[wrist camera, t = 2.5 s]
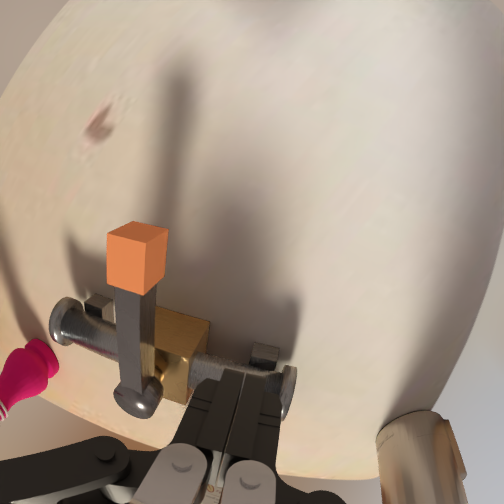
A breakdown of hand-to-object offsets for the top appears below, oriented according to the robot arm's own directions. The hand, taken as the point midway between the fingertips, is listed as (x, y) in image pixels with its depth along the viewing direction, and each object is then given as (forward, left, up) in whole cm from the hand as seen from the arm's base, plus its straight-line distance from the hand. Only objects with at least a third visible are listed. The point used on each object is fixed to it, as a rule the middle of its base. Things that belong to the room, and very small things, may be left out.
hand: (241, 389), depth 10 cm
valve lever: (+8, +6, -9) cm, 13 cm away
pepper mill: (+30, +25, -17) cm, 42 cm away
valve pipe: (+8, +12, -16) cm, 22 cm away
